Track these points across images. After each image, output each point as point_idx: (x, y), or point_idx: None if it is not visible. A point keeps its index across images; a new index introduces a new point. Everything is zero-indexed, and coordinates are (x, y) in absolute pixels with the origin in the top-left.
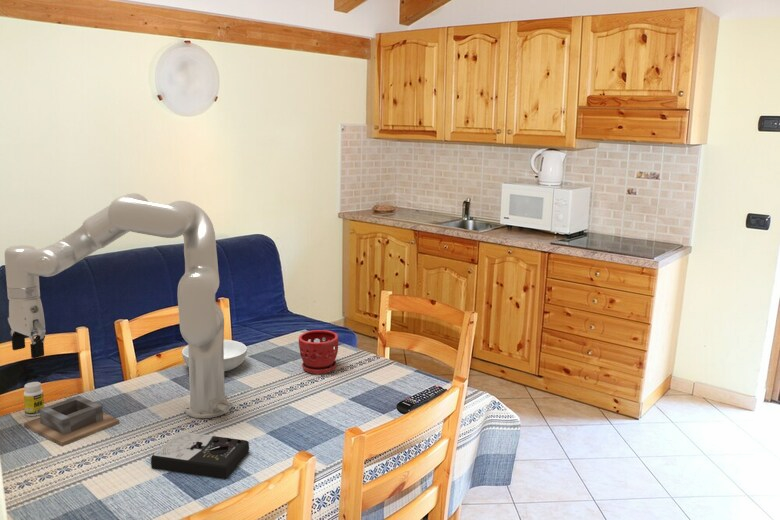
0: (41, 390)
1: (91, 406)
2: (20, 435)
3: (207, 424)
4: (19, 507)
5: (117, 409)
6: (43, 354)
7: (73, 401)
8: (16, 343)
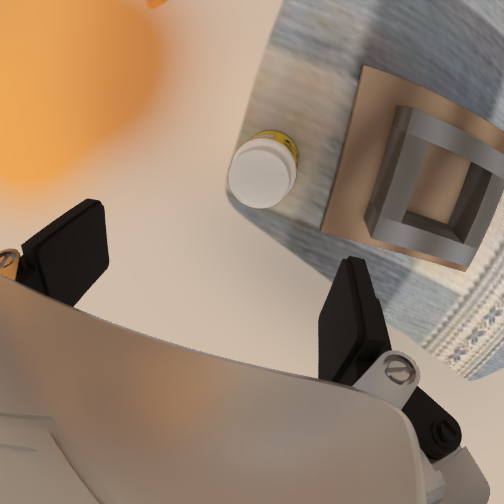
0: (286, 156)
1: (494, 173)
2: None
3: None
4: (471, 376)
5: (465, 63)
6: (361, 264)
7: (424, 150)
8: (85, 276)
